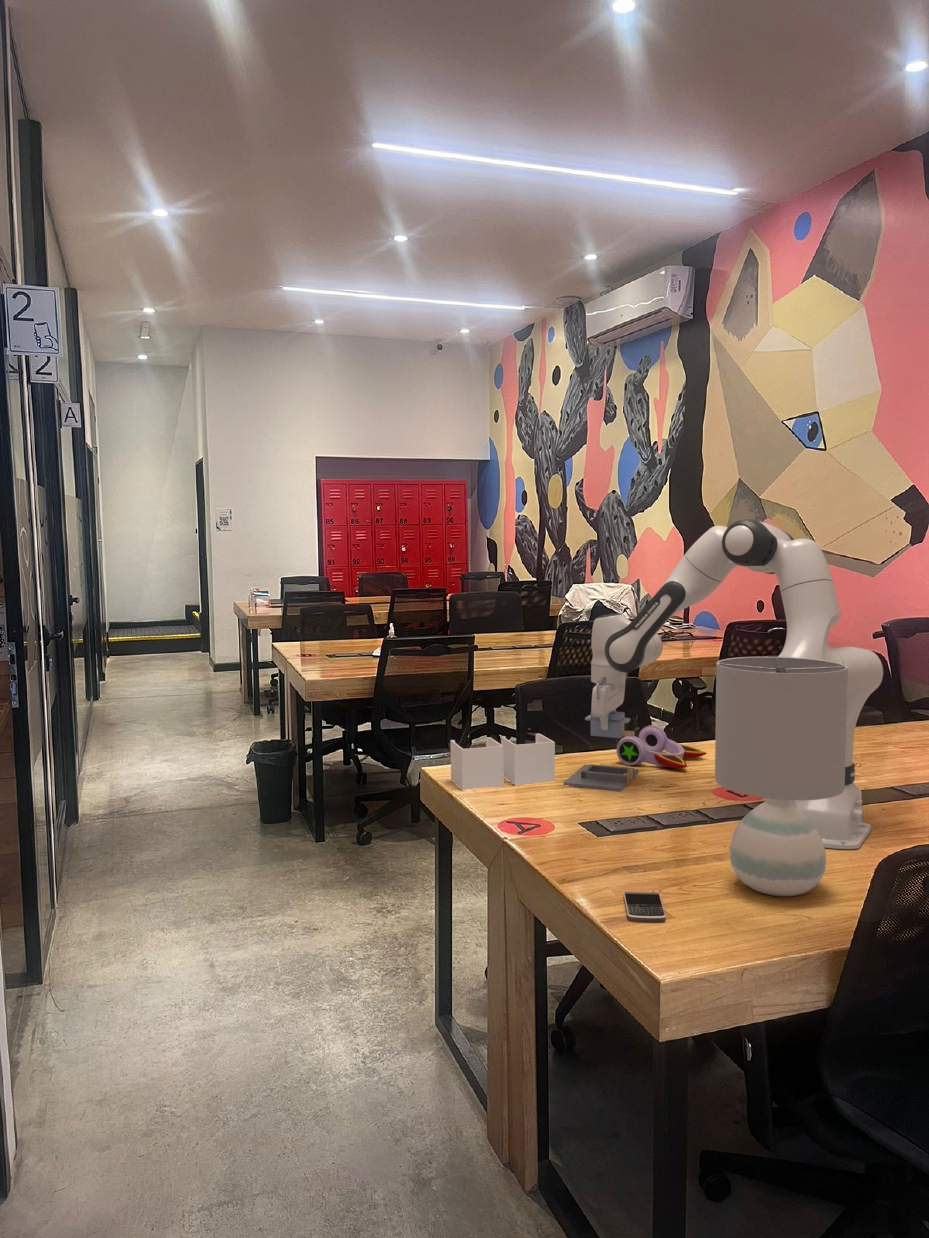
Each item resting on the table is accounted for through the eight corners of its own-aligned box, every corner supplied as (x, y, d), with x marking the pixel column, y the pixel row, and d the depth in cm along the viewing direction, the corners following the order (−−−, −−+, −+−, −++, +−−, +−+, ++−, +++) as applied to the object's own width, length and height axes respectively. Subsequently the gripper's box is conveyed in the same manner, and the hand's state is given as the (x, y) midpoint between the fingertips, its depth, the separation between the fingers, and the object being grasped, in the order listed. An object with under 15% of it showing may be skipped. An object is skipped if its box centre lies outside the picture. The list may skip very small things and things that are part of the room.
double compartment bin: (462, 792, 221) (462, 749, 220) (451, 781, 231) (450, 740, 230) (554, 783, 227) (554, 742, 227) (539, 773, 238) (539, 733, 237)
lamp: (832, 870, 165) (838, 658, 161) (850, 918, 144) (857, 675, 140) (713, 860, 170) (716, 655, 167) (713, 905, 150) (716, 671, 146)
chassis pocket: (621, 791, 219) (621, 781, 219) (563, 785, 225) (563, 775, 224) (638, 772, 237) (638, 763, 237) (584, 767, 243) (584, 758, 243)
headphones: (639, 724, 262) (705, 723, 251) (643, 757, 262) (709, 757, 251) (613, 737, 246) (682, 736, 235) (617, 771, 246) (686, 772, 235)
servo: (632, 739, 225) (632, 713, 224) (585, 735, 230) (585, 709, 229) (635, 735, 229) (635, 710, 228) (589, 731, 234) (589, 706, 233)
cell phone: (628, 924, 144) (628, 916, 143) (623, 897, 155) (623, 889, 154) (666, 925, 143) (666, 917, 143) (658, 898, 154) (658, 890, 154)
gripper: (610, 682, 217) (609, 736, 219) (629, 670, 236) (628, 720, 237) (585, 680, 220) (585, 734, 221) (606, 669, 239) (605, 718, 240)
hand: (607, 727), depth 229 cm, fingers closed on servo, 4 cm apart
